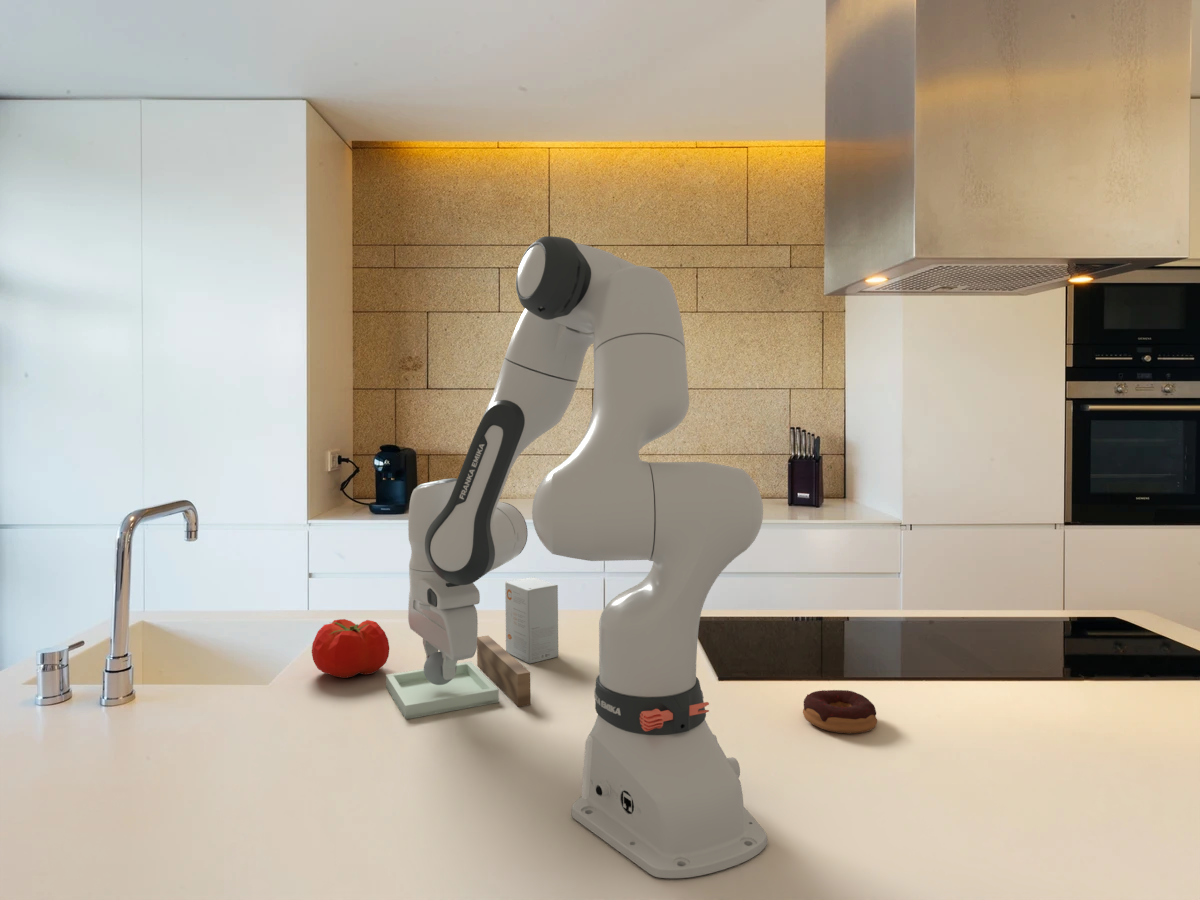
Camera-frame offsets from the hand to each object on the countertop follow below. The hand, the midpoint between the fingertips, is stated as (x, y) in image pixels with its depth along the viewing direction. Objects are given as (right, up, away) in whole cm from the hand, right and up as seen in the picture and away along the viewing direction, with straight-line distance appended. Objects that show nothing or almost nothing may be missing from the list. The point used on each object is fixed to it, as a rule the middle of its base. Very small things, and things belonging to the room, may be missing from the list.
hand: (440, 672), depth 124 cm
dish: (0, -4, 0) cm, 4 cm away
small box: (+12, -2, +19) cm, 23 cm away
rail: (+9, -3, +5) cm, 11 cm away
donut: (+59, -5, -10) cm, 60 cm away
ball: (0, +1, 0) cm, 1 cm away
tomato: (-17, -3, +10) cm, 20 cm away
